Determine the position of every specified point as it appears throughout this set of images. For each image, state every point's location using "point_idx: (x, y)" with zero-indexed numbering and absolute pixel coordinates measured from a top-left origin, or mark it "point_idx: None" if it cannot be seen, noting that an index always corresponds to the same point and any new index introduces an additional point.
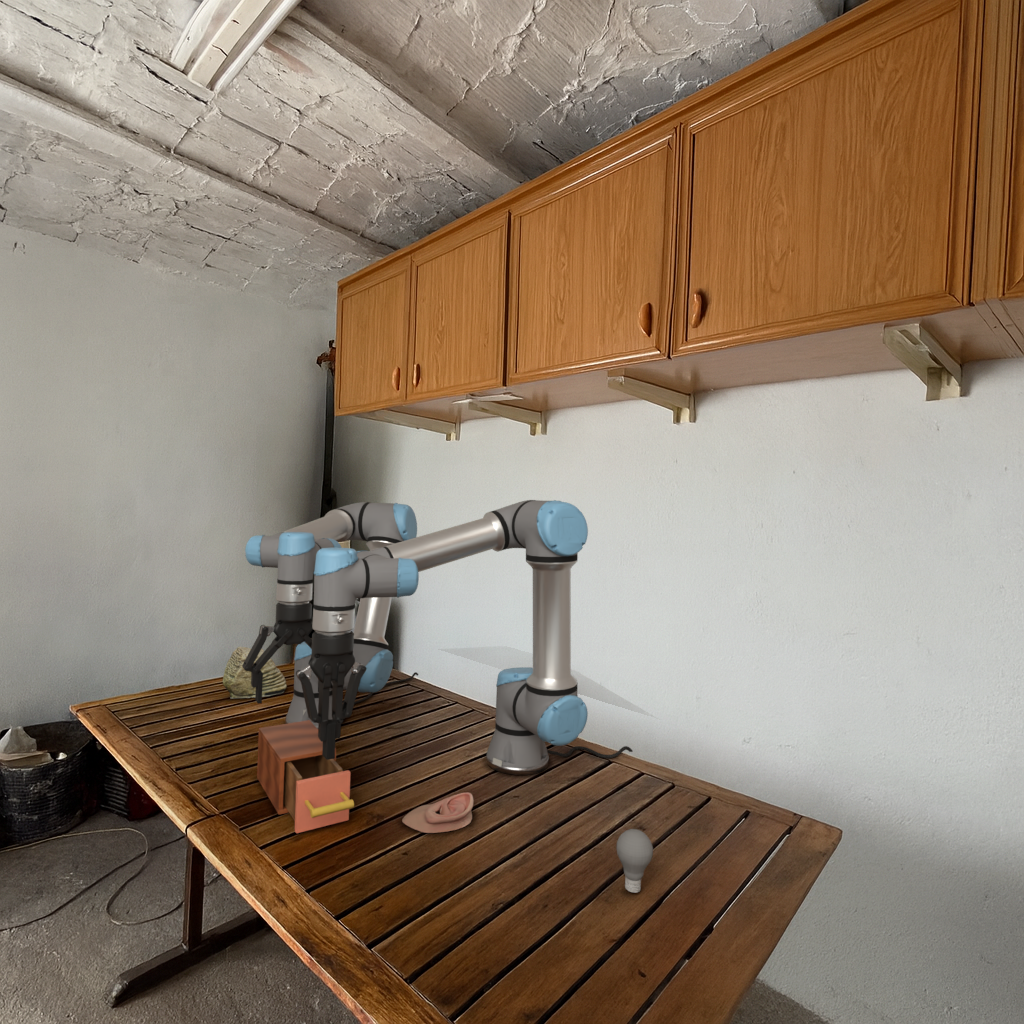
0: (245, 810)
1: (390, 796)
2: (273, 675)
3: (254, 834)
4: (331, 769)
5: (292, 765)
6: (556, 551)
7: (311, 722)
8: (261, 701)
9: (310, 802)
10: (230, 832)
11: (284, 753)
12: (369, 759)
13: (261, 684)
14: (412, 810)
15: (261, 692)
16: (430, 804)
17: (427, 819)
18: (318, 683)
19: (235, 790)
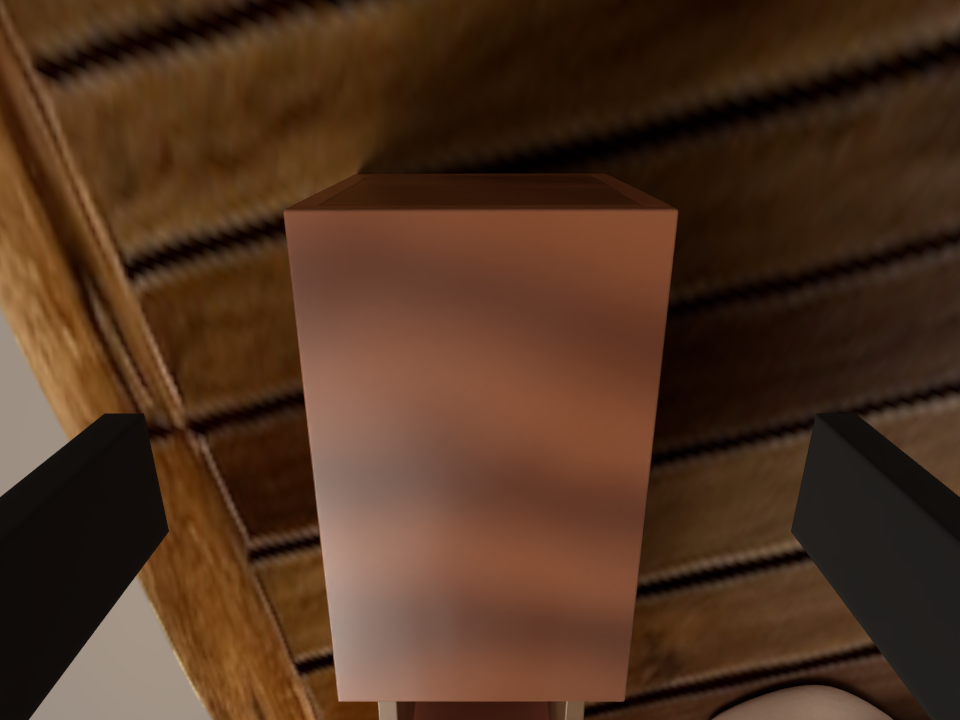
0: (276, 447)
1: (772, 574)
2: None
3: (289, 600)
4: (559, 711)
5: (392, 708)
6: None
7: (670, 269)
8: (157, 540)
9: None
10: (219, 560)
11: (367, 657)
12: (913, 220)
13: (29, 701)
14: (764, 709)
15: (99, 613)
16: (832, 712)
17: None
18: (872, 480)
19: (251, 261)
